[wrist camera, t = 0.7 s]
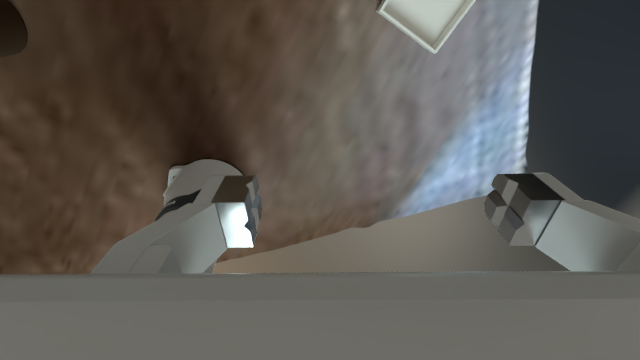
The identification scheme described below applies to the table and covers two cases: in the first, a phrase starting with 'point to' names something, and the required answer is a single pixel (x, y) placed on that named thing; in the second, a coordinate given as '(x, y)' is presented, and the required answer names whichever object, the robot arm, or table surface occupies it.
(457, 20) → the tray
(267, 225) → the table surface
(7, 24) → the olive oil
